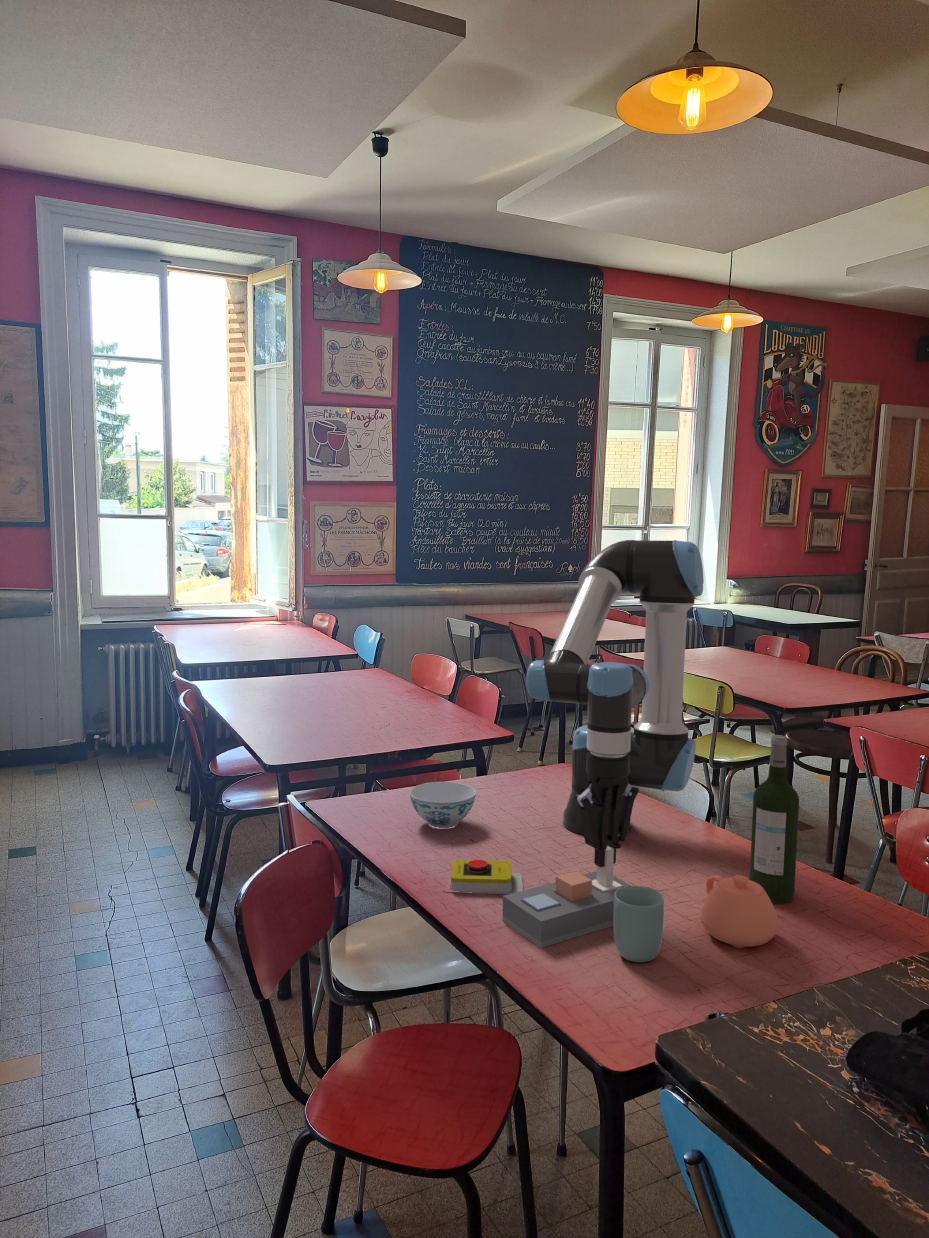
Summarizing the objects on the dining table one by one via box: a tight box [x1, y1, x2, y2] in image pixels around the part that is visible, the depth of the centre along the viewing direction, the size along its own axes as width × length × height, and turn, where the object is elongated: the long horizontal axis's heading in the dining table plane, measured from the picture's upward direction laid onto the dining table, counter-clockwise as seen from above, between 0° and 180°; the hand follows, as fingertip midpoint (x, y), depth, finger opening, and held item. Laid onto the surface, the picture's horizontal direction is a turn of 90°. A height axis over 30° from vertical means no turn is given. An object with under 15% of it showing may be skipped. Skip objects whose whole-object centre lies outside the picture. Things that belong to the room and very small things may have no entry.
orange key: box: [555, 871, 592, 903], centre depth 148 cm, size 4×4×4 cm
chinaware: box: [409, 781, 477, 828], centre depth 195 cm, size 15×15×8 cm
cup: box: [612, 885, 665, 963], centre depth 136 cm, size 8×8×10 cm
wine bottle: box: [749, 734, 800, 905], centre depth 158 cm, size 8×8×30 cm
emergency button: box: [450, 859, 524, 895], centre depth 163 cm, size 9×4×15 cm
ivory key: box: [592, 879, 622, 894], centre depth 152 cm, size 4×4×4 cm
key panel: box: [502, 870, 632, 949], centre depth 149 cm, size 22×11×4 cm, turn 121°
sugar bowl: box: [700, 874, 779, 949], centre depth 143 cm, size 12×14×10 cm
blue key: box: [523, 893, 559, 912], centre depth 145 cm, size 4×4×4 cm
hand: (604, 882), depth 152 cm, fingers closed
